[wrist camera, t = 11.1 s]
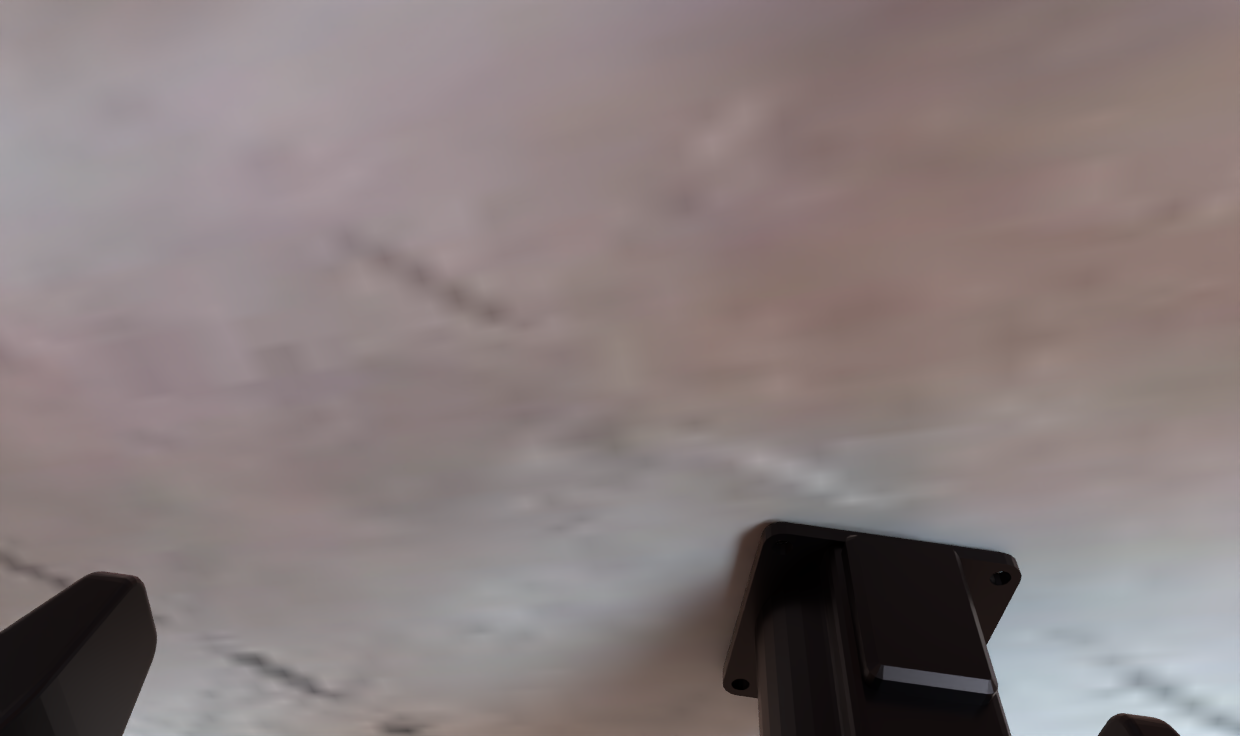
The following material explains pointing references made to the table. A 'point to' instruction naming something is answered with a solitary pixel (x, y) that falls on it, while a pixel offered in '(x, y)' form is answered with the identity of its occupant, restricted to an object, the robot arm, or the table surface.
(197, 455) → the table surface
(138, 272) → the table surface
